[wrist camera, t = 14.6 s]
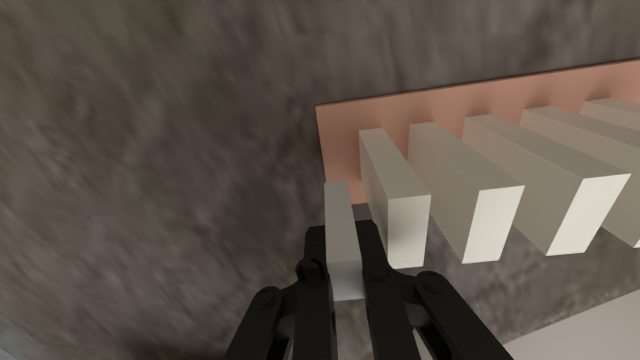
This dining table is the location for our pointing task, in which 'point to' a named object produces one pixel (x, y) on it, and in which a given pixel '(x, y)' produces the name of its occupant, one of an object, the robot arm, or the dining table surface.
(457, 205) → the domino
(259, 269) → the dining table surface
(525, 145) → the domino
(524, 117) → the domino
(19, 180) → the dining table surface
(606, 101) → the domino
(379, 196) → the domino
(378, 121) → the strip
